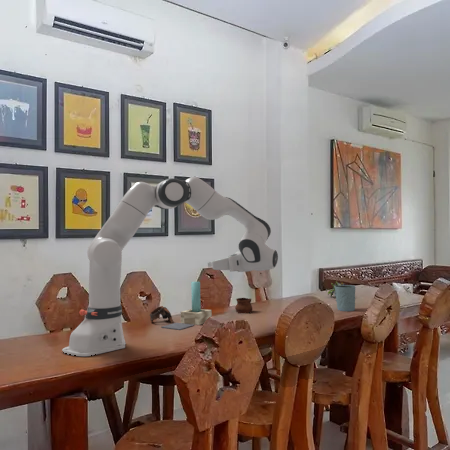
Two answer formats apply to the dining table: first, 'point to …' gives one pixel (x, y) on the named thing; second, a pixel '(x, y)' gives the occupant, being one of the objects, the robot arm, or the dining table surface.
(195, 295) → the peg
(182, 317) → the socket block
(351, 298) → the blue-grey planter
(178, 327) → the mat
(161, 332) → the dining table surface
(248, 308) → the ceramic pot
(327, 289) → the passion flower
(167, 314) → the brown hollow arch
